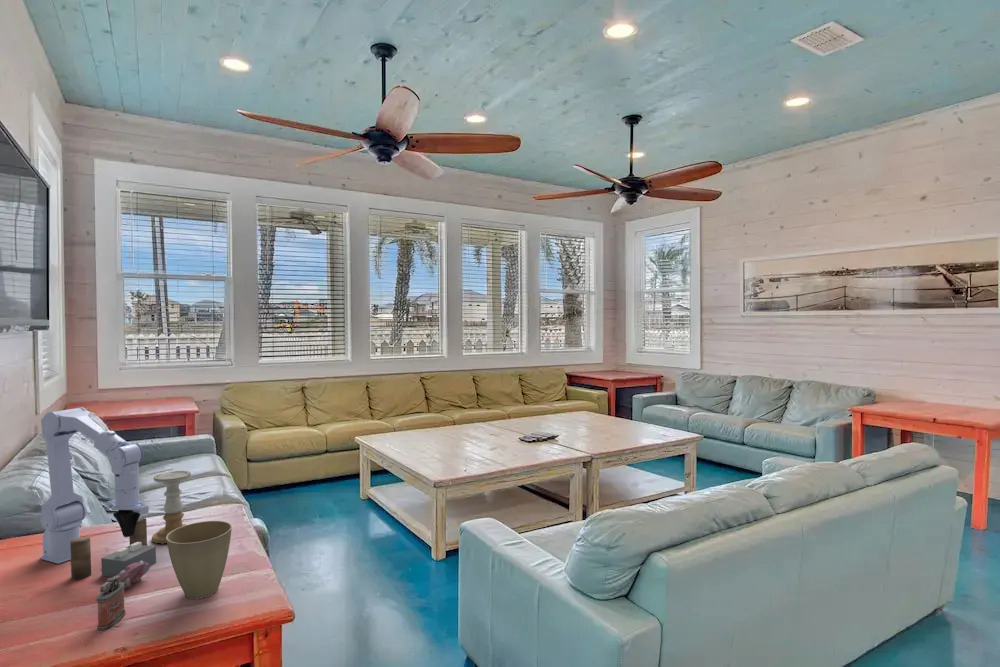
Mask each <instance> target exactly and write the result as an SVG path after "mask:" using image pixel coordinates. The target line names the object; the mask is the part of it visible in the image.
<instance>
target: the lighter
mask: <svg viewBox="0 0 1000 667" xmlns="http://www.w3.org/2000/svg"><path fill="white" fill-rule="evenodd" d="M119 580H120V576H114V577H110V578H107V579H106V582H105V583H103V584H102V585H100V587H99V589H100V590H99V592H100V593H99V594H98V595H97V596H96V600H95V601H96V603H97V620H98V621H97V622H98V623H97V627H96V628H97V632H106V631H108V629H109V630H110V629H112V628H113V627H115V626H116V625H117V624H118V623H119V622H120V621H121V620H123V618H124V617H125V616H126V609H125V589H124V587H125V583H124V582H119ZM114 625H115V626H114ZM111 627H112V628H111ZM105 630H106V631H105Z"/></svg>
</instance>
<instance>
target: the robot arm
mask: <svg viewBox="0 0 1000 667" xmlns="http://www.w3.org/2000/svg"><path fill="white" fill-rule="evenodd" d="M40 422H41V432H42V439H43V440H44V441H45V444H46V445H45V447H46V455H47V465H48V475H49V485H50V497H49V498H48V499H47V500H46V501H45V502H43V503H42V505H41V514H40V517H39V519H40V520H39V522H40V525H41V526H42V528H43V529H44V530H45V531H44V532H43V535H42V556H39V559H40V558H41V559H40V560H44V561H47V562H51V563H55V564H58V565H59V564H62V563H65V562H68V561H71V551H70V541H72V540H74V539H76V538H81V536H80V535H81V534H80V533H81V531H80V525H81V524H83V520H84V519H85V518H86V517H87V506H86V505H85V503H84V497H83V496H82V495H81V494H78V493H76V492H74V484H73V473H72V472H73V471H72V463H71V462H72V461H71V454H70V452H71V451H70V444H69V440H71V438H72V437H73V435H75V434H77V433H79V434H82V435H84V436H85V437H87V438H89V439H90V440H92V441H93V445H94V448H96V449H97V450H98V451H100V452H101V453H102V454H104V455H105V456H106V457H108V462H109V465H110V467H111V472H112V474H114V496H115V497H114V499H111V500H108V501H107V508H108V509H111V510H112V511H116V512H114V513H113V517H114V518H115V519H116V521H117V523H118V525H119V527H120V530H121V533H122V537H123V538H129V536H132V535H134V531H135V527H136V524H137V521H138V519H139V518H141V515H144V514H147V513H149V505H148V504H145V503H144V502H142V501H141V500H140V498H141V497H140V467H139V464H140V463H141V462H142V460H143V459H144V449H143V448H142V446H141V445H140V444H139V443H138V442H127V441H126V440H125V439H124V438H123V437H121V436H120V435H118V434H117V433H116V432H115V431H114V430H104V429H103V428H102V427H101V426H99V425H98V424H97V422H95V421H94V420H93V419H92V417H91V412H90V411H88V410H87V409H86V408H85V407H83V406H79V407H75V408H69V409H64V410H55V411H47V412H46V413H45V414H44V416H43V417H42V418H41V419H40Z"/></svg>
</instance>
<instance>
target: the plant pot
mask: <svg viewBox="0 0 1000 667" xmlns="http://www.w3.org/2000/svg"><path fill="white" fill-rule="evenodd" d="M232 530H233V525H232V524H231V523H230V522H227V521H224V520H206V521H205V520H204V521H198V522H192V523H189V524H186V525H185V526H182V527H179V528H177V529H175V530H173V531H171V532H170V533H169V534H168V535H167V536H166V541H167V544H166V546H167V549H168V550H167V551H168V555H169V558H170V561H171V562H170V563H171V565H172V568H173V571H174V574H175V577H176V578H177V581H178V583H179V585H180V587H181V590H182V591H183V593H184V596H185V597H186V598H187V599H189V598H191V599H192V600H197V599H196V598H200V599H202V598H201V597H204V598H206V597H205V596H208V595H210V596H212V595H214V594H215V593H216V592H217V591H218V590H219V587H220V585H221V581H222V579H223V575H224V571H225V568H226V564H227V559H228V557H229V550H230V546H231V539H232V538H231V537H232ZM214 592H215V593H214ZM213 593H214V594H213ZM211 594H212V595H211ZM208 597H209V596H208ZM191 599H190V600H191Z"/></svg>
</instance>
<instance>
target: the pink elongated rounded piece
mask: <svg viewBox="0 0 1000 667" xmlns="http://www.w3.org/2000/svg"><path fill="white" fill-rule="evenodd" d="M150 568H151V566H150V564H148V563H147V562H143V561H142V560H141V561H140V562H139V563H132V564H130V565H128V566H127V567H126V568H125V569H124V570H122V571H121V572H120V573H118V574H117V575H116V576H120V580H119V582H124V583H125V587H124V590H126V589H128V588H129V587H130V586H131V584H132V583H133V584H136V583H138V582H139V581H140V580H141V578H142V577H143V576H145V574H146V573H147V572H148V571H149V570H150Z"/></svg>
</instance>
